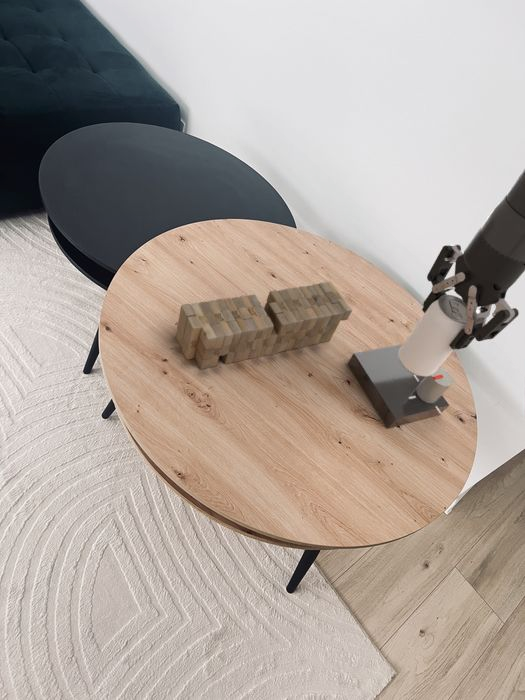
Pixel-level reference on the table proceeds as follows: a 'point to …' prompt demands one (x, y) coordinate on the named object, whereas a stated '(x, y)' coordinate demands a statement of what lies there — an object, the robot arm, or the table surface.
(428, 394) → the knob
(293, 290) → the block tower
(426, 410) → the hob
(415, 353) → the can
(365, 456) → the table surface
